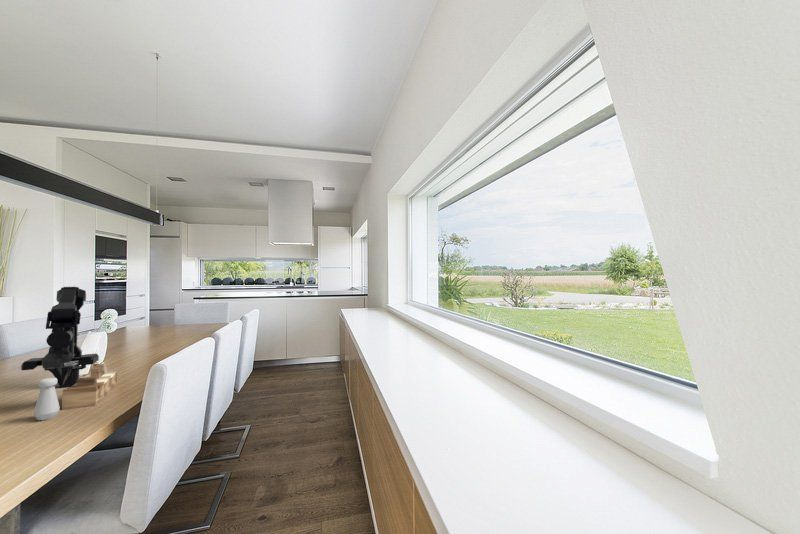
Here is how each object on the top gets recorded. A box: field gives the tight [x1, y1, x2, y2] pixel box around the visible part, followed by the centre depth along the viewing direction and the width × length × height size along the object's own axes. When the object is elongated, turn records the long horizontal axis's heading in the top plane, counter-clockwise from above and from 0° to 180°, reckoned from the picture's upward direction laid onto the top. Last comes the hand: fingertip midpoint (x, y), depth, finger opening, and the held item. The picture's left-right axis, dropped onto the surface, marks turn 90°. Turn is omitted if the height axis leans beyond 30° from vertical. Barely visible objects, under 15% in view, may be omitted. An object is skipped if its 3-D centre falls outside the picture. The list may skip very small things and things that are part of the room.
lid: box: [74, 364, 117, 385], centre depth 126 cm, size 17×9×6 cm, turn 27°
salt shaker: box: [33, 377, 61, 422], centre depth 106 cm, size 6×6×13 cm
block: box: [76, 376, 97, 387], centre depth 119 cm, size 2×5×2 cm, turn 117°
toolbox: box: [61, 372, 118, 411], centre depth 123 cm, size 22×9×7 cm, turn 27°
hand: (61, 385), depth 116 cm, fingers closed
